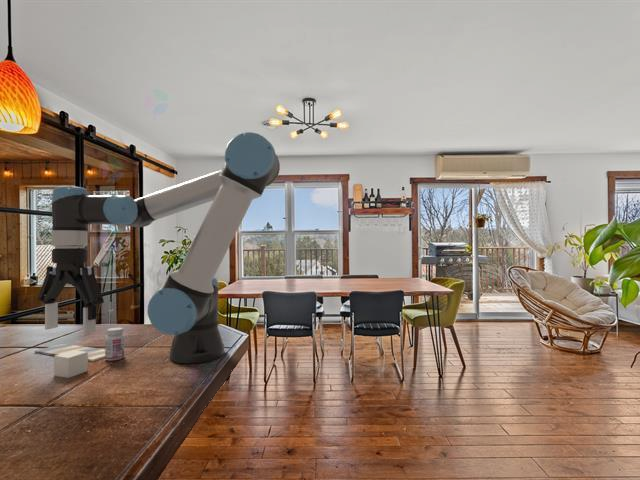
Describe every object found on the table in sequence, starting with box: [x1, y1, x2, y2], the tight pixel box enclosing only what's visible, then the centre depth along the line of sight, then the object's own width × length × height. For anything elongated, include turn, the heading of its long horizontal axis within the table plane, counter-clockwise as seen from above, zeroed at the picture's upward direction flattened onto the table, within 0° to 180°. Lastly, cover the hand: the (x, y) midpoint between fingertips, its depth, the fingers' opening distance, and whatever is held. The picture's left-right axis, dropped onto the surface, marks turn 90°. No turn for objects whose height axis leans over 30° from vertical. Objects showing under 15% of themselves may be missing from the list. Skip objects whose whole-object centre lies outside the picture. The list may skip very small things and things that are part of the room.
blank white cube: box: [53, 350, 89, 379], centre depth 90 cm, size 5×5×5 cm
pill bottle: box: [104, 327, 125, 362], centre depth 102 cm, size 5×5×8 cm
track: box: [34, 343, 105, 362], centre depth 107 cm, size 24×8×1 cm, turn 71°
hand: (69, 330), depth 91 cm, fingers open, 13 cm apart
